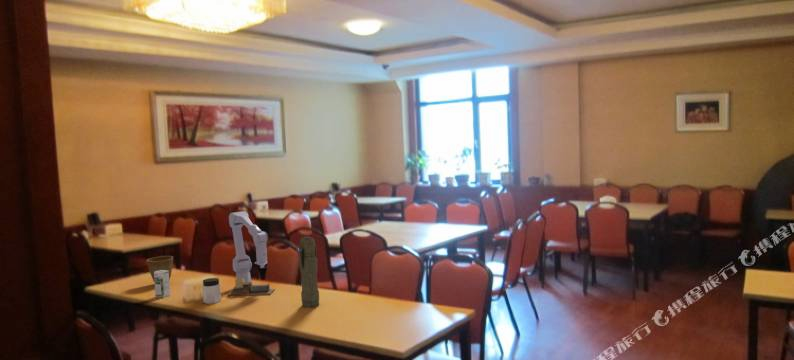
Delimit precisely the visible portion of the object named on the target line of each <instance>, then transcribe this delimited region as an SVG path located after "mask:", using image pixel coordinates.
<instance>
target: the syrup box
mask: <svg viewBox="0 0 794 360" xmlns="http://www.w3.org/2000/svg"><path fill="white" fill-rule="evenodd" d="M154 281H155V283H154V293H155V294H154V296H155V298H159V299H160V298H161V299H164V298H167V297H170V296H171V291H170V290H171V288H170V280H169V270H168V271H166V270H158V271H155V272H154ZM154 281H153V282H154Z"/></svg>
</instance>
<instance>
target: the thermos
mask: <svg viewBox="0 0 794 360" xmlns="http://www.w3.org/2000/svg"><path fill="white" fill-rule="evenodd" d="M297 252H298V253H297V254H298V256H297V257H298V268H299V272H300V274H301V275H300V276H301V293H300V295H301V297H300V298H301V305H302V306H301V307H303V308H306V307H310V308H315V306H316V307H318V306H319V305H320V290H319V288H318V271H319V269H318V263H319V262H318V246H317V245H316V242H315V239H314V237H313V236H303V237H301V239H300V242H299V249H298V251H297ZM317 305H318V306H317Z"/></svg>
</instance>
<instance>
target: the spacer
mask: <svg viewBox="0 0 794 360" xmlns="http://www.w3.org/2000/svg"><path fill="white" fill-rule="evenodd" d="M234 280H235V281H234V282H235V286H236V287H243V284H244V283H245V279H244V278H237V277H236V279H234Z"/></svg>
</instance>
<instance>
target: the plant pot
mask: <svg viewBox="0 0 794 360" xmlns="http://www.w3.org/2000/svg"><path fill="white" fill-rule="evenodd" d="M146 263H147V267H148V271H149V274H150V276H151V278H152V280H153V283H154V284H155V281H154V272H155V271H158V270H166V271H168V270H169V281H170V279H171V277H172V272H173V263H174V256H172V255H160V256H156V257H155V256H154V257H151V258H148V259H146Z"/></svg>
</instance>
